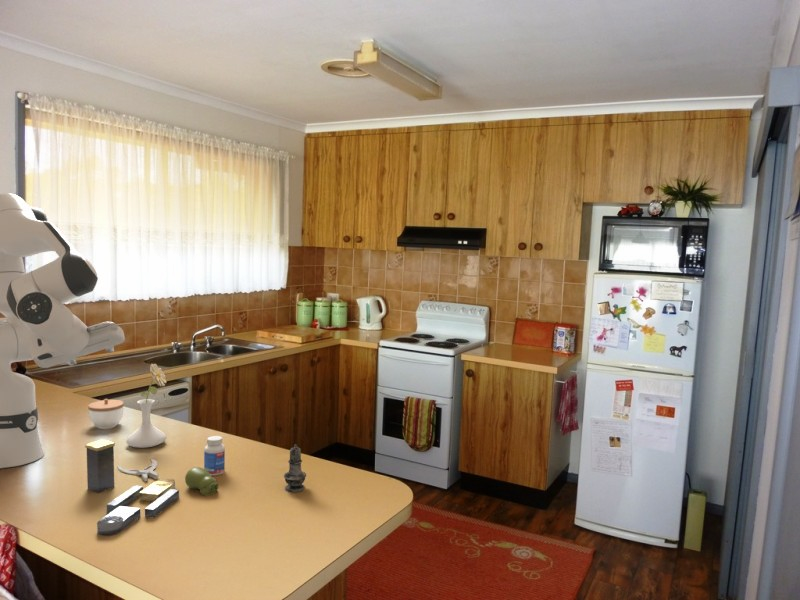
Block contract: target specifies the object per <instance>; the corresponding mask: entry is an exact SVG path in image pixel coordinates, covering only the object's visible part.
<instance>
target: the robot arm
mask: <svg viewBox="0 0 800 600" xmlns="http://www.w3.org/2000/svg"><path fill="white" fill-rule="evenodd" d="M48 219H49V218H47V214H46V212H44V211H43V209H42V208H39V207H34V206H29V204H27V202H26V201H25V200H24V199H23V198H22V197H20V196H18V195H17V194H14V193H9V192H8V193H7V192H3V193H0V314H2V315H3V317H5V320H6V321H7V323H2V324H0V469H5V468H6V469H7V468H13V467H19V466H23V465H26V464H30V463H33V462H35V461H38V460H40V459H42V457H44V455H45V452H44V449H43V446H42V442H41V439H40V432H39V428H38V421H39V411H38V407H37V406H36V405H37V404H36V403H37V402H36V384H35V382H34V381H33V379H32V378H31V377H29V376H26V375H25V374H22V373H18V372H14V371H13V370H12V366H11V365H12V364H13V363H17V362H19V363H20V362H25V361H34V364H36V365H37V366H38V367H39V368H43V369H48V368H51V367H54V366H57V365H69V366H70V367H73V366H75V365H77V359H78V358H81V357H85V356H87V355H90V354H93V353H96V352H99V351H103V350H105V352H106V353H107V354H111V353H114V352H115V348H114V347H115V346H118V345H121V344H124V342H125V340H126V337H125V332H124V330H123V328H122V327H120V326H119V325H118V324H117V323H115V322H113V321H104V322H99V323H97V324H94V325H90V326H87V325H86V323H84V322H83V321H82V320H81V319H80V318H79V317H78V316H76V315H75V314H73V312H72V310H70V308H68V307H67V306H66V305H65V304H66V303H68V302H70V301H72V300H75V299H76V298H78V297H81V296H84V295H86V294H89V293H91V292H94V289H95V288H96V285H97V283H98V280H99V277H98V274H97V272H96V268H95V266H93V264H92V263H91V262H90V261H89V260H88V259H87V258H86V257H84V256H83V255H82V254H80V252H78V250H77V249H76V248H75V247H74V245H73V244H72V243H71V242H70V241H69V240H68V238H67V237H66V235H64V234H63V233H62V232H61V230H59V228H58V227H57V226H56V225H55V224H53V223H52V222H51V221H49V220H48ZM47 252H55V253H56V254H57V256H58V257H57V258H56V259H54V260H52V261H51V262H48V263H46V264H44V265H43V266H39V267H38V268H36V269H34V270H30V271H29V272H26V269H25V264H24V259H23V258H26V257H32V256H35V255H38V254H42V253H47Z"/></svg>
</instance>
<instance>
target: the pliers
mask: <svg viewBox="0 0 800 600" xmlns="http://www.w3.org/2000/svg"><path fill="white" fill-rule="evenodd" d="M150 459H151V460H150V461H152V462H151V464H149V465H148V466H146V467H144V469H133V468H132V469H126V468H124V467H122V466H121V465H117V467H116V468H117V470H118V469H119V470H120V471H119V470H118V471H119V472H120V473H123V472H124V473H123V474H126V473H127V475H130V474H136V475H135V476H138V475H140V476H141V479H142V478H143V479H142V480H143V481H147V482H148V478H151V477H153V478H152V479H154V478H155V479H154V480H156V479H157V480H159V473H158V472H156V471H155V470H156V469H157V468H156V467H158V462H157V461H156V459H154V458H150ZM150 466H152V467H150ZM148 467H149V468H148ZM155 468H156V469H155ZM154 469H155V470H154ZM153 470H154V471H153ZM148 476H150V477H148Z"/></svg>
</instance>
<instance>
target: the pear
mask: <svg viewBox="0 0 800 600" xmlns="http://www.w3.org/2000/svg"><path fill="white" fill-rule="evenodd" d="M184 477H185V478H184V479H185V480H184V481H185V484H186V486H187V487H189V488H190V489H193V490H194V489H198V490H199V492H200V494H202V495H204V496H205V497H207V496H209V495H213V494H215V493H217V492H218V489H219V483H217V479H215V478H214V477H212V476H211V475H210V473H209V472H208V471H207V470H205V469H204V467H203V468H202V467H199V466H196V467H192V468H190V469H189V470H188V471H187V472H186V474H185V476H184Z"/></svg>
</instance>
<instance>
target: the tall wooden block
mask: <svg viewBox="0 0 800 600" xmlns="http://www.w3.org/2000/svg"><path fill="white" fill-rule="evenodd" d="M115 445H116V443H115V442H113V441H110V440H107V439H105V438H102V439H98V440H95V441H92V442H88V443H86V444H84V447H85V448H86V473H87V475H86V478H87V479H86V481H87V490H89V491H92V492H94V493H97V494H100V493H103V492H105V490H106V491H108V490H110V488H111V489H113V488H115V457H114V454H115V453H114V452H115V451H114V446H115Z"/></svg>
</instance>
